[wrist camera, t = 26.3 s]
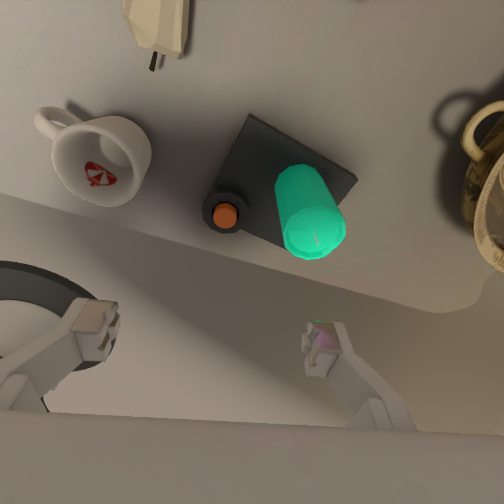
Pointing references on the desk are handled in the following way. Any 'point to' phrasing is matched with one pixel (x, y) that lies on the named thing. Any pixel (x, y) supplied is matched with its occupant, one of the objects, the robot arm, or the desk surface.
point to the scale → (266, 179)
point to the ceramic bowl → (485, 186)
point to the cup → (96, 155)
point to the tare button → (225, 215)
